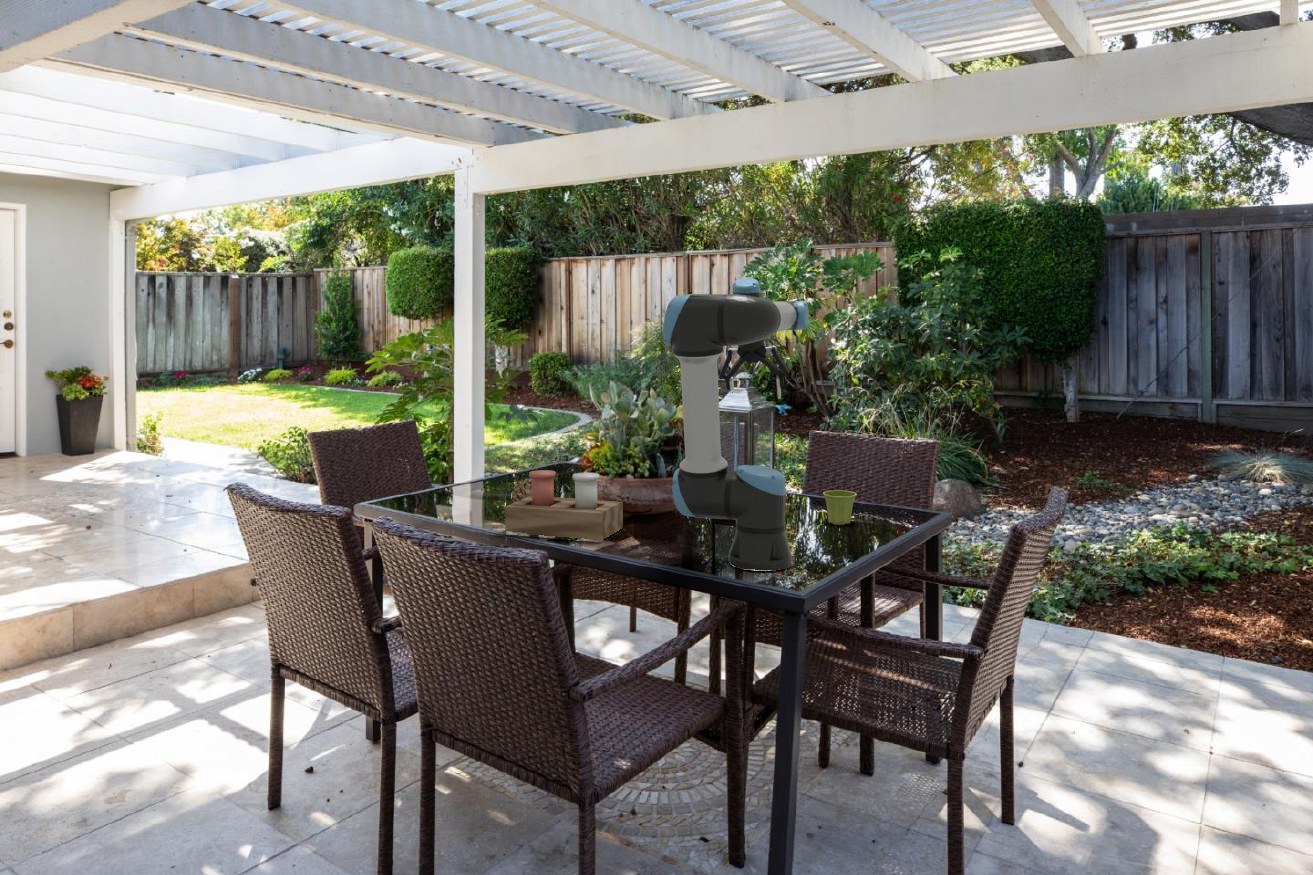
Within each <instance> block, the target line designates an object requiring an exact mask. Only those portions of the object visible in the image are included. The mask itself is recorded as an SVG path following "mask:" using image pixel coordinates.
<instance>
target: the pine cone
mask: <svg viewBox="0 0 1313 875" xmlns="http://www.w3.org/2000/svg"><path fill="white" fill-rule="evenodd" d="M520 480H521V481H520ZM520 480H519V481H518V482H519V483H515V484H514V486H513V491H511V497H512V498H513V499H512V500H511V502H512V503H515V502H517V501H520V500H522V499H525V498H527V497H530V496H532V477H529V478H525V479H524V480H523V479H520Z"/></svg>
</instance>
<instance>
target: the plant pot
mask: <svg viewBox="0 0 1313 875" xmlns="http://www.w3.org/2000/svg"><path fill="white" fill-rule="evenodd" d="M822 493H823V494H822V495H823V496H824V500H825V505H826V512H827V520H828V521H827V522H828V523H829V524H833V525H836V526H844V525H849V524H851V520H852V514H853V513H852V511H853V507H854V503H855V502H854V501H855V499H856V497H857V492H854V491H851V490H850V491H849V490H843V489H842V490H840V489H839V490H836V489H834V490H826V491H824V492H822Z"/></svg>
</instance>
